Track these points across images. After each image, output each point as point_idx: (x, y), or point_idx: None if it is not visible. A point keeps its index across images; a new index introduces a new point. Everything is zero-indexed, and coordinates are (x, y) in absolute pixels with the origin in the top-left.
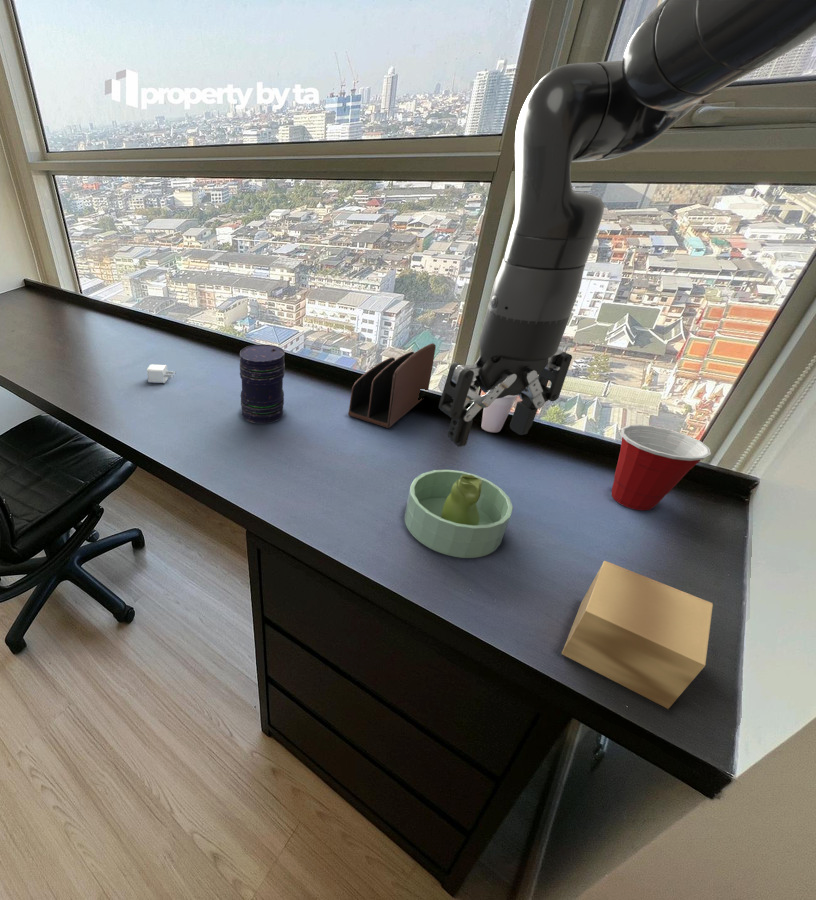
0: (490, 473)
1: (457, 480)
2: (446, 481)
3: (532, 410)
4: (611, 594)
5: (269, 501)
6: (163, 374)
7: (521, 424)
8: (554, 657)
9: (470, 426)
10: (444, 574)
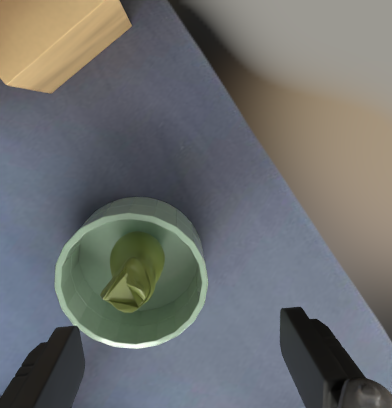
0: (21, 343)
1: (141, 305)
2: (118, 328)
3: (26, 406)
4: (48, 12)
5: (351, 343)
6: None
7: (67, 360)
8: (143, 24)
9: (316, 359)
10: (199, 178)
